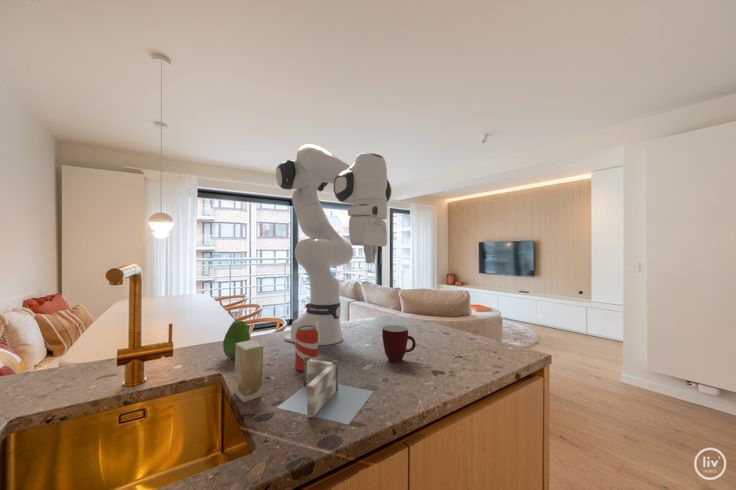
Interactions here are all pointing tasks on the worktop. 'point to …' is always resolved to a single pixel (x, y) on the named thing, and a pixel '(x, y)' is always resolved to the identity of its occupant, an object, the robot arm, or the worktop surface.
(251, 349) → the skincare box
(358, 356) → the worktop surface
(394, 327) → the mug
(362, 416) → the worktop surface
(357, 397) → the card
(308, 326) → the beverage can
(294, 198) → the robot arm
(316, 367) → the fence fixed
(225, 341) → the fruit
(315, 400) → the fence panel
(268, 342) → the worktop surface
